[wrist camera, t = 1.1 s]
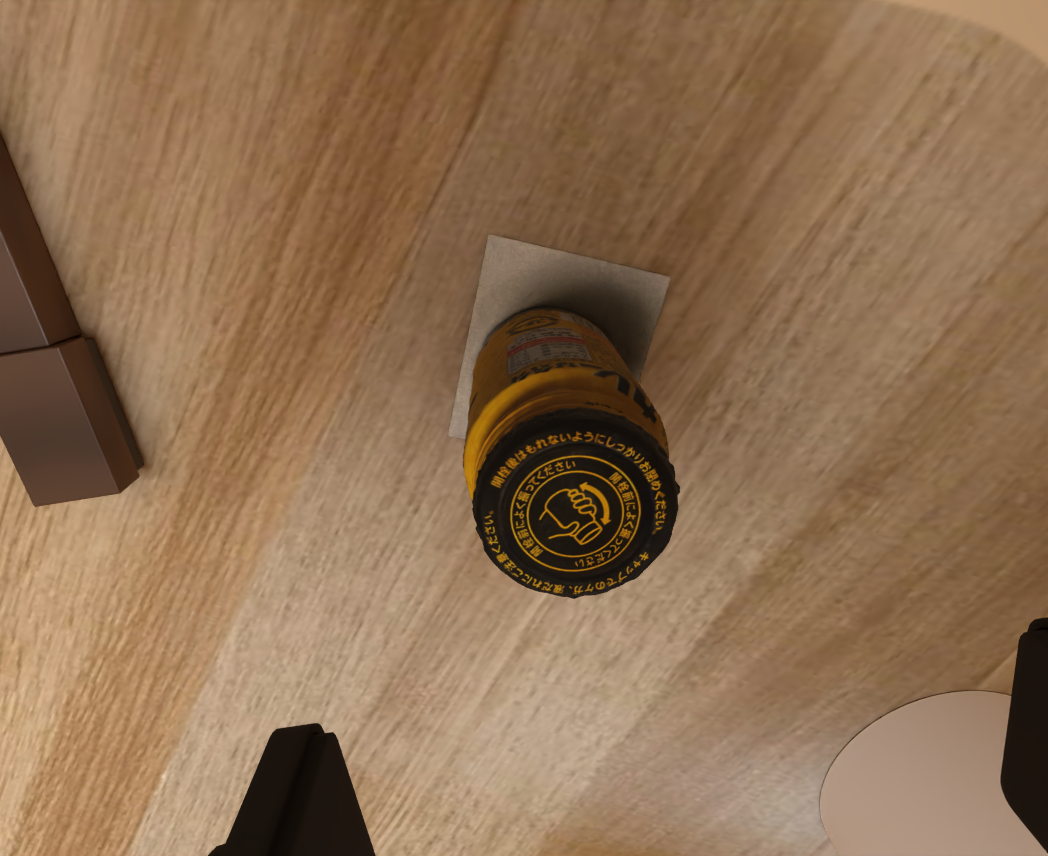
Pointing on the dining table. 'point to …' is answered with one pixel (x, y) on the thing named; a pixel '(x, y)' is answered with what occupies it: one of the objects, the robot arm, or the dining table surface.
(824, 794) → the canister
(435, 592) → the dining table surface
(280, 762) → the robot arm
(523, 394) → the condiment
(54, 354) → the brown bar
